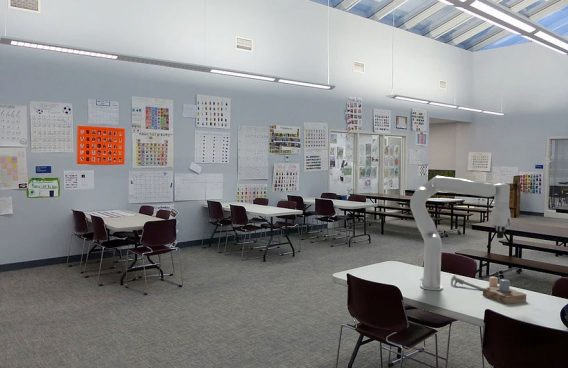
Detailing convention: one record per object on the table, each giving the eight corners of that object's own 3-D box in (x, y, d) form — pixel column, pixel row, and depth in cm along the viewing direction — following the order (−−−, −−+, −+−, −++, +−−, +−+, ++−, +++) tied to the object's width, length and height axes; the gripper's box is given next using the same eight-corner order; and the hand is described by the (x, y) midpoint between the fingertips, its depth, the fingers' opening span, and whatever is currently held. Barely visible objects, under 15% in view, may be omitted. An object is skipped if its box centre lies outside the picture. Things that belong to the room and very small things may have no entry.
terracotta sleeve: (487, 290, 252) (487, 276, 252) (492, 289, 254) (493, 276, 253) (493, 292, 248) (493, 278, 248) (499, 291, 250) (499, 278, 249)
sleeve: (496, 297, 240) (497, 279, 239) (503, 296, 241) (504, 278, 241) (504, 300, 235) (505, 282, 234) (511, 299, 237) (511, 281, 236)
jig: (482, 295, 243) (483, 286, 243) (501, 292, 248) (501, 284, 248) (506, 304, 228) (507, 295, 228) (526, 301, 233) (526, 292, 233)
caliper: (450, 285, 263) (451, 274, 263) (451, 284, 264) (451, 274, 264) (486, 291, 250) (487, 281, 250) (487, 291, 251) (487, 280, 251)
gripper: (485, 204, 248) (484, 236, 249) (507, 207, 234) (506, 240, 236) (495, 204, 251) (494, 235, 252) (517, 206, 237) (516, 240, 238)
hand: (500, 238), depth 244 cm, fingers closed
